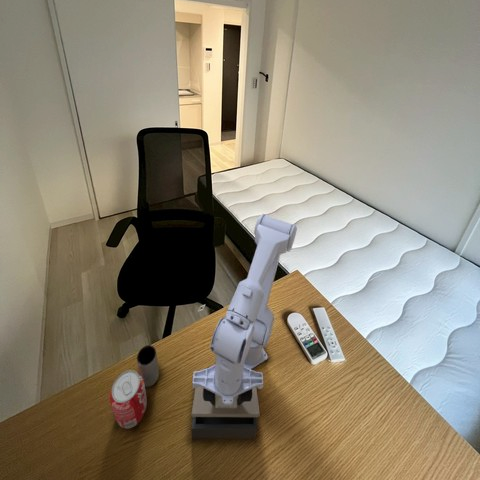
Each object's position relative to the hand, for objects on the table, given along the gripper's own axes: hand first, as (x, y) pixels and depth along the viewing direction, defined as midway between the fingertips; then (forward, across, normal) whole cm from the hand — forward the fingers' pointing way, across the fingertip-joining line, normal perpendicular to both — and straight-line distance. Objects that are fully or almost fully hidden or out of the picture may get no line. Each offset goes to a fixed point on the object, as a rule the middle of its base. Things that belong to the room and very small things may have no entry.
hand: (226, 399), depth 54 cm
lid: (+3, 0, +2) cm, 3 cm away
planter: (+10, -20, +8) cm, 24 cm away
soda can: (+10, -22, +2) cm, 25 cm away
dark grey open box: (+10, 0, +2) cm, 10 cm away
